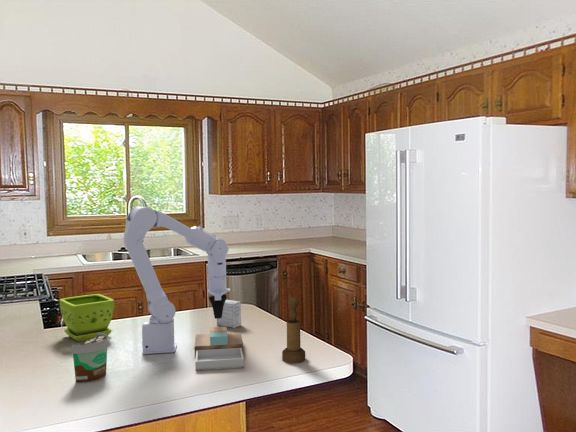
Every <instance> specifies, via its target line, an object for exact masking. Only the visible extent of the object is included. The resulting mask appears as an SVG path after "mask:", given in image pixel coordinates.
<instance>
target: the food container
mask: <svg viewBox="0 0 576 432" xmlns="http://www.w3.org/2000/svg"><path fill="white" fill-rule="evenodd" d="M110 345H111V342H110V338H109V335H108V336H107V335H106V334H104V333H97V336H96V337H94V338H92V339H89V340H86V341H82V342H81V343H80V344H71V352H70V354H72V357H73V367H74V378H75V383H78V384H79V383H89V382H95V381H98V380H101V379H103V378H104V377H106V375H107V366H108V365H107V363H108V362H107V361H108V347H109V346H110Z"/></svg>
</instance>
